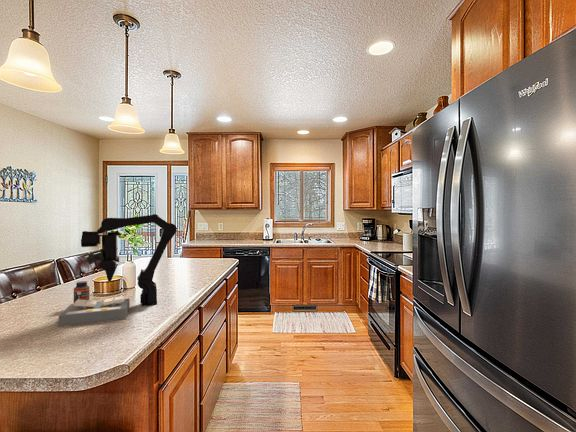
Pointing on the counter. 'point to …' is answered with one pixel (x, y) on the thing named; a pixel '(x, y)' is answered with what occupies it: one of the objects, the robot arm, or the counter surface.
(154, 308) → the counter surface
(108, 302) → the block
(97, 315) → the console
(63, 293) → the counter surface
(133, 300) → the counter surface
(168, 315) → the counter surface
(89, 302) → the panel
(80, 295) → the supplement bottle
